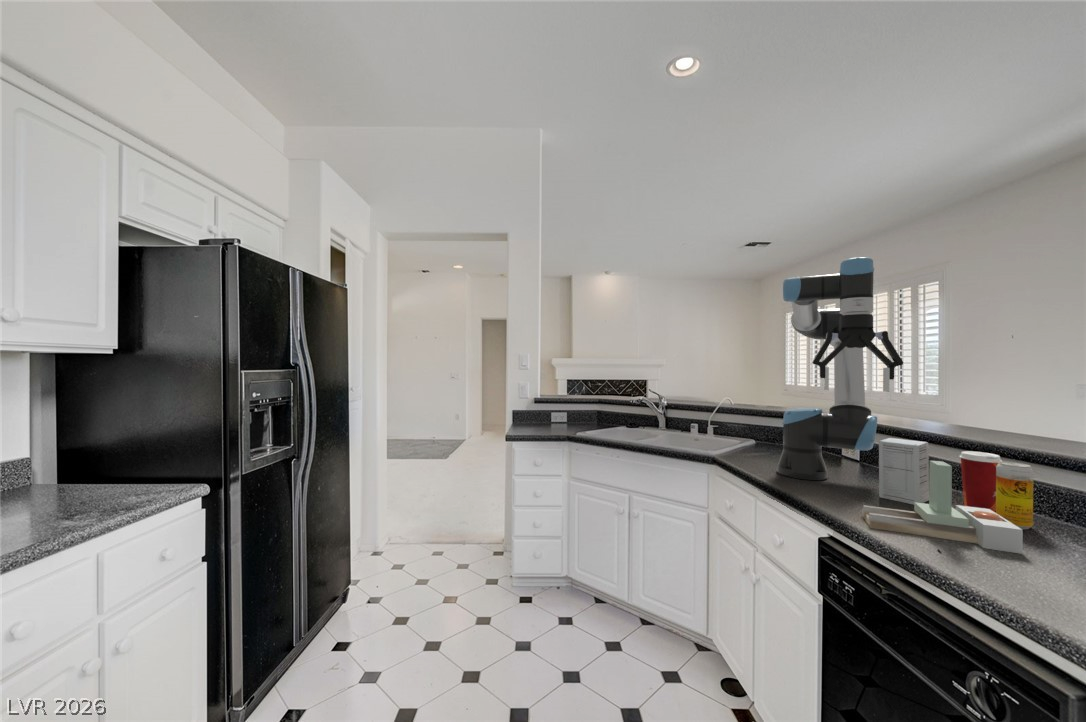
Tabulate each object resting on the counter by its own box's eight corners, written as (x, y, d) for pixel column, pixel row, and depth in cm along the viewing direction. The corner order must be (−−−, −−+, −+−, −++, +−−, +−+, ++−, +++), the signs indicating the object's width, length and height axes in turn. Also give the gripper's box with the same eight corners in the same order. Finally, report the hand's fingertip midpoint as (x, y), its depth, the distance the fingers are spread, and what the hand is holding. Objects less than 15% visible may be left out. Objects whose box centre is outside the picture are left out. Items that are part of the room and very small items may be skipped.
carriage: (914, 510, 105) (914, 457, 105) (951, 515, 102) (952, 460, 102) (927, 522, 97) (927, 465, 97) (968, 528, 94) (969, 469, 94)
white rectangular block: (955, 525, 104) (955, 505, 104) (989, 530, 101) (989, 509, 101) (983, 548, 91) (983, 524, 91) (1022, 553, 88) (1022, 529, 88)
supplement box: (930, 500, 122) (930, 442, 122) (919, 506, 117) (920, 445, 117) (889, 491, 130) (889, 437, 130) (877, 497, 125) (878, 440, 125)
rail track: (862, 515, 110) (862, 504, 110) (960, 529, 101) (960, 516, 101) (870, 527, 102) (870, 515, 102) (977, 543, 93) (977, 529, 93)
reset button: (970, 527, 99) (970, 509, 99) (994, 530, 97) (994, 512, 97) (978, 533, 95) (978, 515, 95) (1003, 536, 93) (1003, 518, 93)
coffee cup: (1011, 515, 111) (1011, 457, 111) (974, 512, 112) (974, 456, 112) (985, 504, 119) (985, 451, 119) (950, 502, 121) (950, 449, 121)
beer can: (1006, 528, 102) (1006, 465, 102) (989, 519, 108) (990, 460, 108) (1039, 531, 100) (1040, 468, 100) (1021, 522, 106) (1022, 462, 106)
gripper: (805, 315, 120) (804, 389, 120) (918, 311, 109) (917, 393, 109) (802, 317, 127) (801, 388, 127) (909, 313, 116) (908, 391, 116)
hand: (855, 390), depth 118 cm, fingers open, 13 cm apart
